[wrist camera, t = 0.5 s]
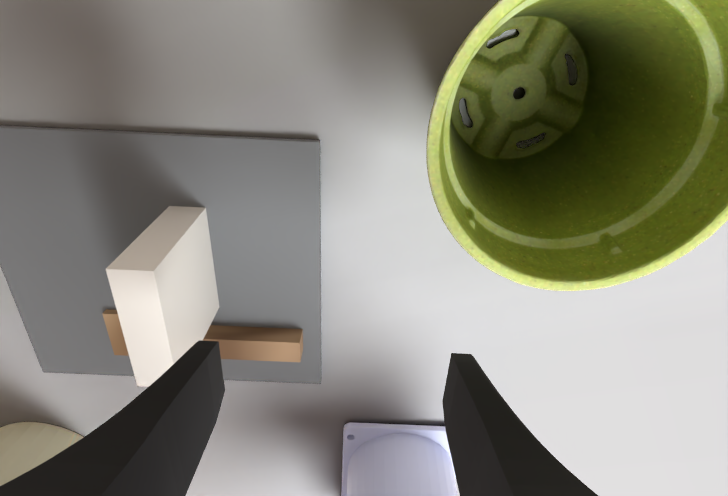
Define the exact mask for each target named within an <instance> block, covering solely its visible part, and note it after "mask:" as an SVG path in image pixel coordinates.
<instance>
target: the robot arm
mask: <svg viewBox="0 0 728 496" xmlns="http://www.w3.org/2000/svg"><path fill="white" fill-rule="evenodd" d="M224 392H225V387H224V380H223V372H222V364H221V356H220V348H219V341H202V340H199V341H198V342H196V343H195V344H194V345H193V346H192V347H191V348H190V349H189V350H188V351H187V352H186V353H185V354H184V355H183V356H182V357H180V358H179V359H178V360H177V361H176V362H175V363H174V364H173V365H172V366H171V367H170V368H169V369H168V370H167V371H166V372H165V373H164V374H162V375H161V376H160V377H159V378H158V379H157V380H156V381H155V382H154V383H153V384H151V385H150V386H149V387H148V388H147V389H146V390H145V391H144V392H142V393H141V394H140V395H139V396H138V397H136V398H135V399H134V400H133V401H132V402H130V403H129V404H128V405H127V406H126V407H124V408H123V409H122V410H121V411H119V412H118V413H117V414H116V415H114V416H113V417H112V418H110V419H109V420H108V421H106V422H105V423H104V424H102V425H101V426H99V427H98V428H97V429H95V430H94V431H92V432H91V433H90V434H88V435H87V436H85V437H84V438H82V439H81V440H79V441H77V442H76V443H74V444H73V445H71V446H69V447H68V448H66V449H65V450H63V451H61V452H60V453H58V454H57V455H55V456H54V457H52V458H50V459H49V460H47V461H45V462H44V463H42V464H40V465H38V466H36V467H35V468H33V469H31V470H29V471H28V472H26V473H24V474H22V475H20V476H18V477H17V478H15V479H13V480H11V481H9V482H7V483H5V484H3V485H1V486H0V496H185V495H186V493H187V490H188V488H189V485H190V483H191V481H192V478H193V476H194V474H195V471H196V469H197V466H198V464H199V462H200V459H201V457H202V455H203V452H204V450H205V447H206V445H207V443H208V440H209V438H210V435H211V433H212V431H213V428H214V426H215V423H216V420H217V417H218V413H219V410H220V407H221V403H222V399H223V395H224ZM443 410H444V420H445V426H425V425H400V424H376V423H352V422H351V423H347V424H345V425H344V429H343V461H342V494H341V496H458V494H457V488H456V482H455V480H457V484H458V488H459V493H460V496H598V495H597V494H595V493H594V492H593V491H592V490H591V489H589V488H588V487H587V486H586V485H585V484H584V483H582V482H581V481H580V480H579V479H578V478H577V477H576V476H574V475H573V474H572V473H571V472H570V471H569V470H567V469H566V468H565V467H564V466H563V465H562V464H561V463H560V462H559V461H558V460H557V459H556V458H555V457H554V456H553V455H552V454H551V453H550V452H549V451H548V450H547V449H546V448H545V447H544V446H543V445H542V444H541V443H540V442H539V441H538V440H537V439H536V438H535V436H534V435H533V434H532V433H531V432H530V431H529V430H528V429H527V427H526V426H525V425H524V424H523V423H522V422H521V420H520V419H519V418H518V417H517V416H516V414H515V413H514V412H513V411H512V409H511V408H510V407H509V406H508V404H507V403H506V402H505V400H504V399H503V398H502V397H501V395H500V394H499V393H498V391H497V390H496V388H495V387H494V386H493V384H492V383H491V381H490V380H489V379H488V377H487V376H486V374H485V373H484V371H483V370H482V369H481V367H480V366H479V364H478V363H477V361H476V360H475V358H474V357H473V356H472V355H471V354H457V353H451V359H450V364H449V369H448V375H447V380H446V386H445V391H444V396H443Z"/></svg>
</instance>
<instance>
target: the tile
mask: <svg viewBox="0 0 728 496" xmlns="http://www.w3.org/2000/svg"><path fill="white" fill-rule="evenodd" d="M106 273H107V276H108V280H109V284H110V287H111V291H112V295H113V298H114V302H115V306H116V309H117V313H118V317H119V320H120V324H121V328H122V331H123V335H124V339H125V343H126V346H127V350H128V354H129V357H130V361H131V365H132V368H133V372H134V376H135V379H136V383H137V386H142V387H149V386H150V385H151V384H153V383H154V382H155V381H156V380H157V379H158V378H159V377H160V376H161V375H162V374H164V373H165V372H166V371H167V370H168V369H169V368H170V367H171V366H172V365H173V364H174V363H175V362H176V361H177V360H178V359H179V358H180V357H182V356H183V355H184V354H185V353H186V352H187V351H188V350H189V349H190V348H191V347H192V346H193V345H194V344H195V343H196V342H198V341H199V340H202V341H203V339H204V337H205V335H206V333H207V331H208V329H209V327H210V325H211V323H212V321H213V319H214V317H215V315H216V313H217V311H218V309H219V300H218V293H217V285H216V278H215V271H214V263H213V256H212V249H211V241H210V234H209V227H208V219H207V212H206V208H203V207H181V206H169V207H168V208H167V209H166V210H165V211H164V212H163V213H162V214H161V215H160V216H159V217H158V218H157V219H156V220H155V221H154V222H153V223H152V224H151V225H150V226H149V227H148V228H146V229H145V230H144V231H143V232H142V233H141V234H140V235H139V236H138V237H137V238H136V239H135V240H134V241H133V242H132V243H131V244H130V245H129V246H128V247H127V248H126V249H125V250H124V251H123V252H122V253H121V254H120V255H119V256H118V257H117V258H116V259H115V260H114V261H113V262H112V263H111V264H110V265H109V266H108V267H107V268H106Z"/></svg>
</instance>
